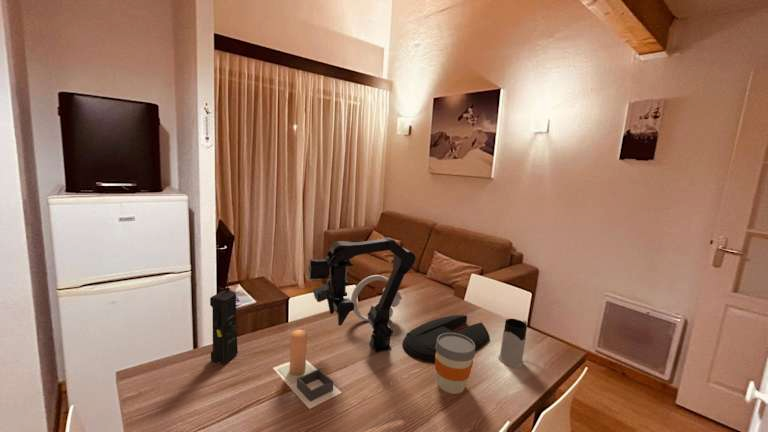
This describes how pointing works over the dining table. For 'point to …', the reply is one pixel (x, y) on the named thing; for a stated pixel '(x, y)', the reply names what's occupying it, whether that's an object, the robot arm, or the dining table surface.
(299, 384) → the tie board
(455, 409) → the dining table surface
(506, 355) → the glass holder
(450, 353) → the reusable coffee cup
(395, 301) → the headphones
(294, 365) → the tall peach cylinder
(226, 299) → the portable radio
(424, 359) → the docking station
